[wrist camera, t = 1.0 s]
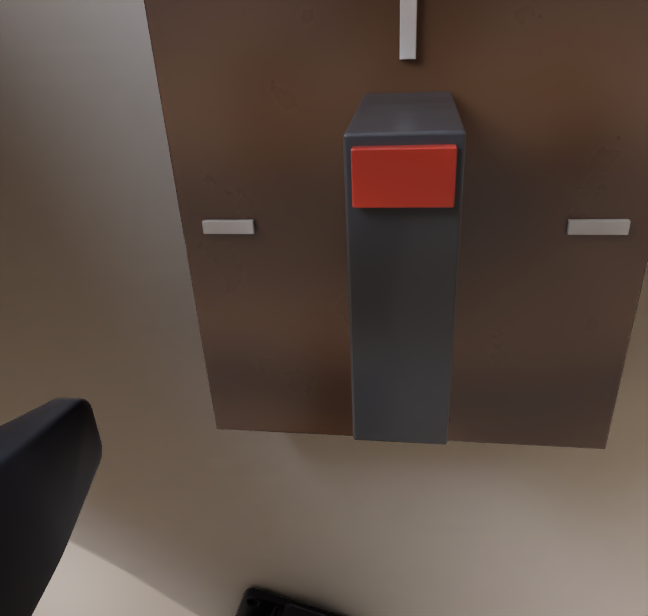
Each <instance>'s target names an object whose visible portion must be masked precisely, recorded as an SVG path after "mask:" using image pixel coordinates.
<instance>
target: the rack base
mask: <svg viewBox="0 0 648 616" xmlns="http://www.w3.org/2000/svg"><path fill="white" fill-rule="evenodd" d="M144 4H145V10H146V16H147V22H148V28H149V34H150V39H151V45H152V51H153V57H154V63H155V69H156V75H157V81H158V86H159V92H160V98H161V104H162V110H163V116H164V122H165V128H166V133H167V139H168V145H169V151H170V157H171V163H172V169H173V175H174V180H175V186H176V192H177V198H178V204H179V210H180V216H181V222H182V227H183V233H184V239H185V245H186V251H187V257H188V263H189V269H190V274H191V280H192V286H193V292H194V298H195V304H196V310H197V316H198V321H199V327H200V333H201V339H202V345H203V351H204V357H205V363H206V368H207V374H208V380H209V386H210V392H211V398H212V404H213V410H214V415H215V421H216V427H217V429H230V430H250V431H269V432H288V433H308V434H327V435H346V436H353V416H352V386H351V356H350V326H349V296H348V266H347V236H346V206H345V176H344V146H343V136H344V134H345V132H346V130H347V128H348V126H349V124H350V122H351V120H352V118H353V116H354V114H355V112H356V110H357V108H358V106H359V104H360V102H361V100H362V98H363V96H364V95H365V94H376V93H407V92H438V91H450V92H451V93H452V96H453V99H454V102H455V104H456V107H457V110H458V113H459V115H460V118H461V121H462V124H463V126H464V129H465V132H466V148H465V164H464V180H463V196H462V212H461V228H460V244H459V261H458V277H457V293H456V309H455V325H454V341H453V357H452V373H451V389H450V405H449V421H448V437H447V441H462V442H481V443H501V444H520V445H539V446H558V447H578V448H597V449H605V447H606V442H607V438H608V433H609V429H610V425H611V420H612V416H613V411H614V407H615V402H616V398H617V393H618V389H619V384H620V380H621V376H622V371H623V367H624V362H625V358H626V353H627V349H628V344H629V340H630V336H631V331H632V327H633V322H634V318H635V313H636V309H637V304H638V300H639V295H640V291H641V287H642V282H643V278H644V273H645V269H646V264H647V260H648V0H144Z"/></svg>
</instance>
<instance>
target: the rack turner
mask: <svg viewBox="0 0 648 616" xmlns="http://www.w3.org/2000/svg"><path fill="white" fill-rule="evenodd" d="M343 146H344V176H345V206H346V236H347V266H348V296H349V326H350V356H351V386H352V416H353V437H354V439H355V440H370V441H389V442H408V443H427V444H446V443H447V437H448V421H449V405H450V389H451V373H452V357H453V341H454V325H455V309H456V293H457V277H458V261H459V244H460V228H461V212H462V196H463V180H464V164H465V148H466V132H465V129H464V126H463V124H462V121H461V118H460V115H459V113H458V110H457V107H456V104H455V102H454V99H453V96H452V93H451V92H450V91H438V92H407V93H376V94H365V95H364V96H363V98H362V100H361V102H360V104H359V106H358V108H357V110H356V112H355V114H354V116H353V118H352V120H351V122H350V124H349V126H348V128H347V130H346V132H345V134H344V136H343Z"/></svg>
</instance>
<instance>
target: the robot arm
mask: <svg viewBox="0 0 648 616" xmlns="http://www.w3.org/2000/svg"><path fill="white" fill-rule="evenodd" d="M101 456H102V443H101V439H100V435H99V432H98V428H97V425H96V421H95V418H94V414H93V410H92V407H91V405H90V404H89V402H88V401H87V400H84V399H80V398H56V399H54V400H52V401H50V402H48V403H46V404H44V405H42V406H40V407H38V408H36V409H34V410H32V411H30V412H28V413H26V414H24V415H22V416H20V417H18V418H16V419H14V420H12V421H10V422H8V423H6V424H4V425H2V426H0V616H32V614H33V612H34V610H35V608H36V606H37V604H38V602H39V600H40V598H41V596H42V595H43V592H44V591H45V589H46V587H47V585H48V583H49V581H50V579H51V577H52V575H53V573H54V571H55V569H56V567H57V565H58V563H59V561H60V559H61V557H62V555H63V552H64V550H65V548H66V546H67V543H68V541H69V538H70V536H71V533H72V531H73V528H74V526H75V523H76V521H77V518H78V516H79V513H80V511H81V508H82V506H83V503H84V501H85V499H86V496H87V494H88V491H89V489H90V486H91V484H92V481H93V479H94V476H95V474H96V471H97V469H98V466H99V464H100V461H101ZM235 616H340V615H337V614H334V613H331V612H328V611H325V610H322V609H319V608H316V607H312V606H309V605H306V604H303V603H300V602H297V601H294V600H291V599H288V598H285V597H282V596H279V595H276V594H273V593H270V592H267V591H263V590H260V589H257V588H248V589H246V590H245V592H244V594H243V597H242V599H241V602H240V605H239V607H238V610H237V613H236V615H235Z"/></svg>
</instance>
